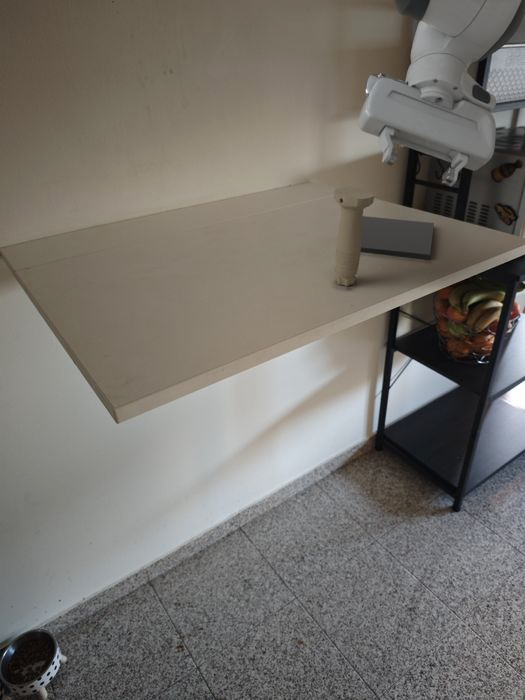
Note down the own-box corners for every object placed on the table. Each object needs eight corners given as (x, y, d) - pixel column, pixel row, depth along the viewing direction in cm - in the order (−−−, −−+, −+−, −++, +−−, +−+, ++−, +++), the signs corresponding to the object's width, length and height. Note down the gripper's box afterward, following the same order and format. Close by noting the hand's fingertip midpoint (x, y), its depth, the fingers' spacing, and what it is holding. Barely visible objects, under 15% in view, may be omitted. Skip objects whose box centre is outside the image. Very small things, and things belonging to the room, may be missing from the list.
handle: (343, 272, 87) (352, 185, 79) (369, 286, 82) (380, 195, 74) (321, 279, 85) (328, 190, 76) (346, 293, 80) (356, 200, 72)
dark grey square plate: (433, 227, 106) (433, 222, 105) (429, 259, 91) (430, 254, 91) (357, 219, 110) (358, 215, 109) (342, 249, 95) (343, 245, 95)
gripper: (378, 52, 70) (360, 135, 67) (506, 102, 73) (495, 183, 69) (360, 84, 76) (343, 161, 73) (480, 129, 79) (468, 205, 75)
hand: (419, 172), depth 71 cm, fingers open, 8 cm apart
